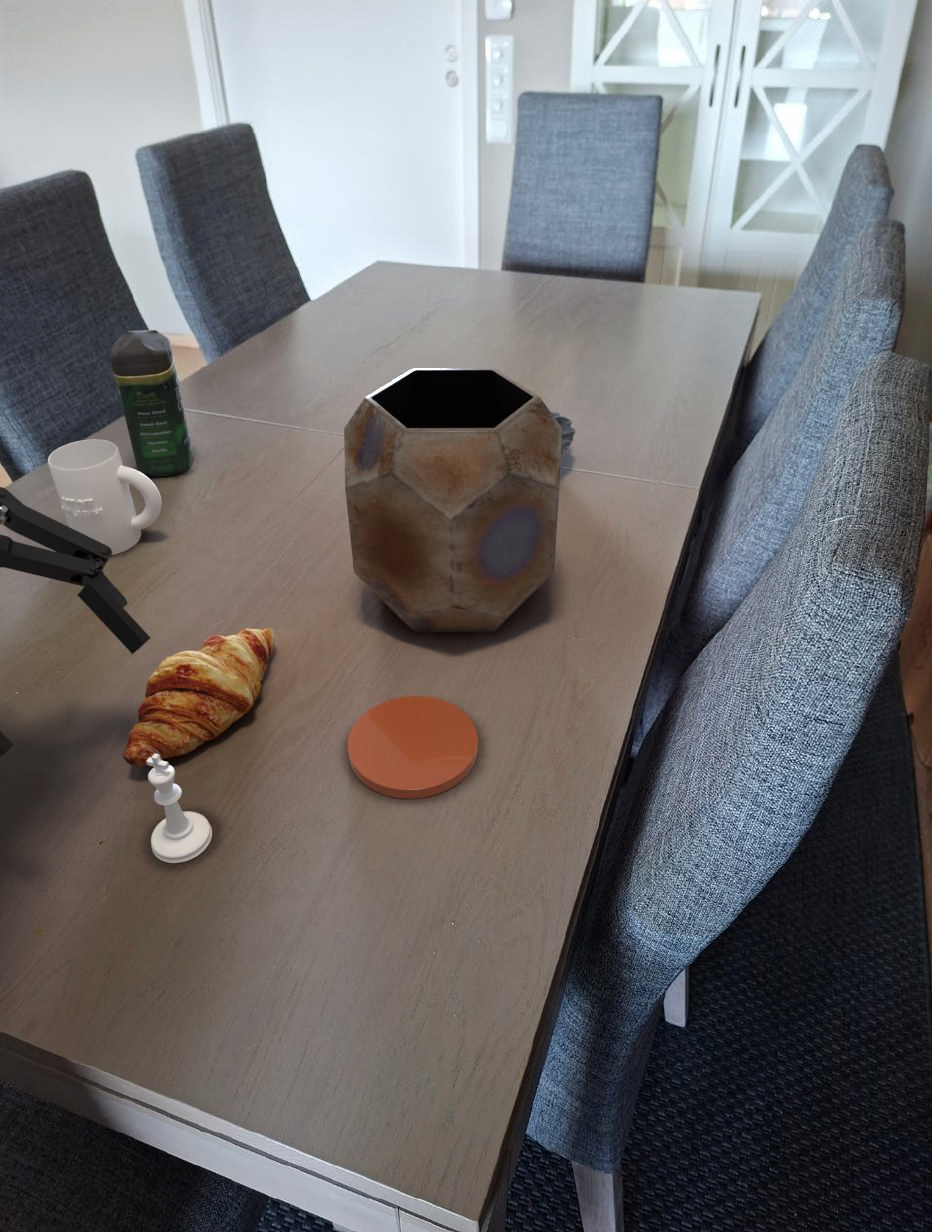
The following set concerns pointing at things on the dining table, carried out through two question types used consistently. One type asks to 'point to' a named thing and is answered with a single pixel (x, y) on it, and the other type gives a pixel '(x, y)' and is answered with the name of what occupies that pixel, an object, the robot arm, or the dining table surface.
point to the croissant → (199, 694)
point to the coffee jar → (152, 402)
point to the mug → (102, 493)
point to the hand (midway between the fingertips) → (78, 696)
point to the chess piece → (175, 819)
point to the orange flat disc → (412, 747)
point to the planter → (453, 496)
